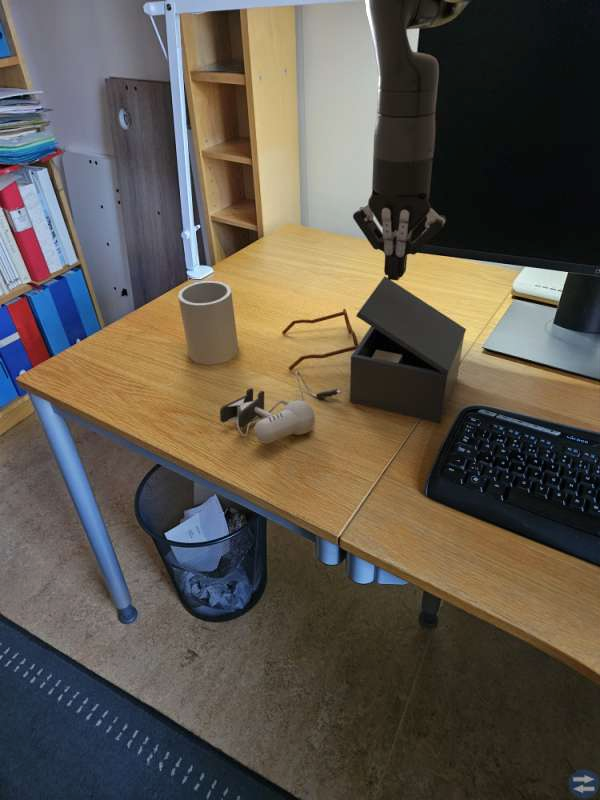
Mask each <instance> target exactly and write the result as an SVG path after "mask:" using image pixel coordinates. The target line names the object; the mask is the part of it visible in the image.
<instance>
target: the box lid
mask: <svg viewBox="0 0 600 800" xmlns="http://www.w3.org/2000/svg"><path fill="white" fill-rule="evenodd" d="M355 317H357V319H360V320H361V321H363V322H364V323H365V324H367V325H369V326H370V327H371V326H372V327H373V328H375V329H376V330H378V331H379V332H381V333H383V334H384V335H386V336H387V337H389V338H390V339H392V340H393V341H395V342H396V343H398V344H399V345H401V346H402V347H404V348H405V349H407V350H409V351H410V352H412V353H413V354H415V355H416V356H418V357H419V358H421V359H422V360H424V361H425V362H427V363H428V364H430V365H431V366H433V367H434V368H436V369H438V370H439V371H441V372H442V373H444V374H445V375H447V373H448V372H449V370H450V368H451V366H452V363H453V361H454V358H455V356H456V353H457V351H458V348H459V346H460V343H461V341H462V339H463V336H464V337H465V334H466V331H467V328H465V327H464V326H462V325H461V324H459V323H458V322H457V321H454V320H453V319H452V318H450V317H448V315H446V314H444V313H442V312H441V311H439V310H438V309H436V308H435V307H433V306H432V305H430V304H428V302H426V301H424V300H422V299H421V298H419V297H417V296H416V295H414V294H413V293H412V292H410V291H409V290H408V289H406V288H404V287H402V286H401V285H399V284H398V283H397V282H395V281H394V280H390V279H388V276H386V275H385V276H383V277H382V279H381V280H380V282H379V283H378V284H377V286H376V287H375V288H374V290H373V291H372V293H371V294H370V295H369V296H368V298H367V299H366V301H365V302H364V304H363V305H362V306H361V308H360V309H359V311H358V312H357V313H356V315H355ZM463 340H464V339H463Z"/></svg>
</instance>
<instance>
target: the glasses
mask: <svg viewBox="0 0 600 800" xmlns="http://www.w3.org/2000/svg"><path fill="white" fill-rule="evenodd" d="M342 316H343V319H344V321H345V325H346V329H347V333H348V335H351V338H352V341H353V345H352V346H348V347H344V348H341V349H337V350H333V351H329V352H327V353H322V354H307V355H301V356H300V357H298V359H296V360H295V361H294V362H293V363H292V364H291V365H290V366H288V367H287V368H288V370H289V371H292V370H294V368H295V367H297V366H298V365H299V364H301V363H302V362H303V361H304V360H309V359H326V358H329V357H333V356H336V355H341V354H345V353H349V352H352V351H355V349H356V348H357V346H358V345H359V342H358V338H357V335H356V332H355V331H354V330H353V328H352V325H351V322H350V318H349V315H348V313H347V309H346V308H343V309H342V311H340V312H335V313H332V314H329V315H325V316H321V317H316V318H313V319H297V320H292V321H291V322H290V324H288V325H287V326H286V327H285V328H284V329H283V330H282V331H281V334H283V335H286V334H287V333H288V331H290V330H291V328H293V327H294V326H295V325H296V324H316V323H319V322H323V321H327V320H331V319H334V318H339V317H342Z"/></svg>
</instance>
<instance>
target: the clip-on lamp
mask: <svg viewBox="0 0 600 800" xmlns="http://www.w3.org/2000/svg"><path fill="white" fill-rule="evenodd" d="M295 377H296V381H297V384H298V388H299V391H300V396H301V400H300V399H298V400H292V401H290V402H289V401H286V400H278V401H277V402H276V403H275V404H274V405H273V406H272V407H271V408H270V409H269V410H268V411H266V410H265V390H260V391H259V392H258V393H257V398H256V399H254V388H250V387H249V388H247V390H246V393H245V394H246V395H244V396H241V397H239V398H237V399H235V400H233V401H230V402H229V403H227V404H224V405H223V406H221V407H220V410H219V421H220V422H221V423H227V422H230V421H231V422H232V421H236V428H237V430H238V432H239V434H240V435H241V436H242V437H243V438H246V437H247V436H248V432H249V427H250V426H253V425H254V428H253V432H254V436H255V438H256V439H257V440H258V441H259V442H260V443H262V444H269V443H272V442H275V441H277V440H279V439H282V438H284V437H287V436H288V435H289V436H290V435H295V436H296V435H297V436H299V435H304V434H305V435H306V434H307V433H308V432H310V431H311V430H312V429H313V427H314V425H315V422H316V416H315V412H314V410H313V408H312V406H311V405H310V404H309V403H308V402H307V401H305V400H304V394H303V390H302V387H301V384H300V380H301V382H302V384H303V385H304V387H305V389H306V391H307V392H308V393H309V395H310V396H312V397H314V398H316V399H321V398H323V399H325V398H328V397H330V398H332V397H333V396H337V395H338V394H342V393H343V391H342V390H339V389H337V388H336V389H331V390H326V391H321V392H320V391H319V392H318V393H316V394H315V393H313V392H312V390H311V389H310V388H309V386H308V384H307V383H306V381H305V379H304V377H303V375H302V374H301V373H300V371H299V370H296V371H295ZM299 378H300V380H299ZM280 404H282V405H285V406H284V408H283V409H282V410H281V411H278V412H276V413H274V414H272V412H273V411H274V410H275V408H277V407H278V406H279V405H280ZM256 417H258V418H257V419H256V420H254V419H255V418H256ZM253 420H254V421H253ZM246 426H247V427H246ZM244 427H246V432H245V434H244V433H243V432H242V430H241V429H240V428H242V429H243V428H244Z"/></svg>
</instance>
